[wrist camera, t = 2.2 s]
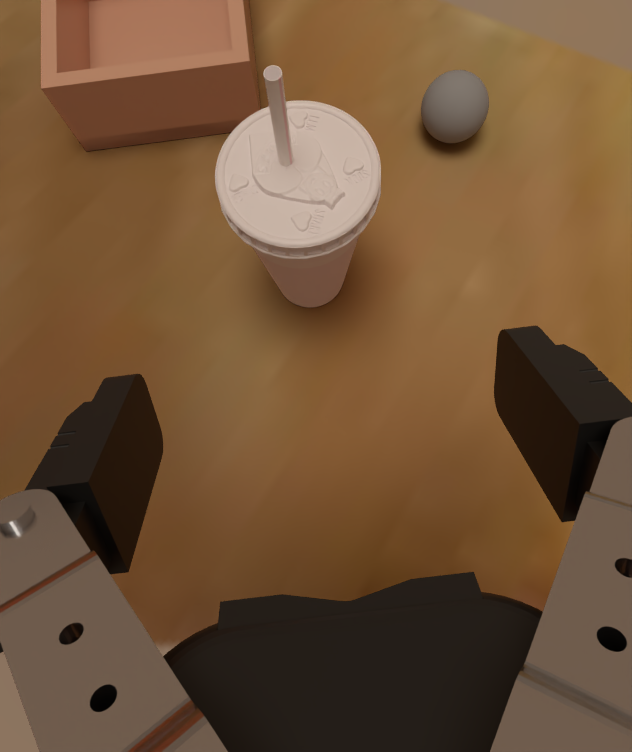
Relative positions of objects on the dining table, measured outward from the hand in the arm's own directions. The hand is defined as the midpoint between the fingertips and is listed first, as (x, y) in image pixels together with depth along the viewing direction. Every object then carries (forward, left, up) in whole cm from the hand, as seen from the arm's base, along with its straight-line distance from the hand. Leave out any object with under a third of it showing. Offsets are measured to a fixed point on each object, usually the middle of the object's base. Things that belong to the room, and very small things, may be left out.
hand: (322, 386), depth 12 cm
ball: (+9, +18, -16) cm, 25 cm away
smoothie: (0, +10, -16) cm, 19 cm away
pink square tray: (-7, +25, -16) cm, 30 cm away
